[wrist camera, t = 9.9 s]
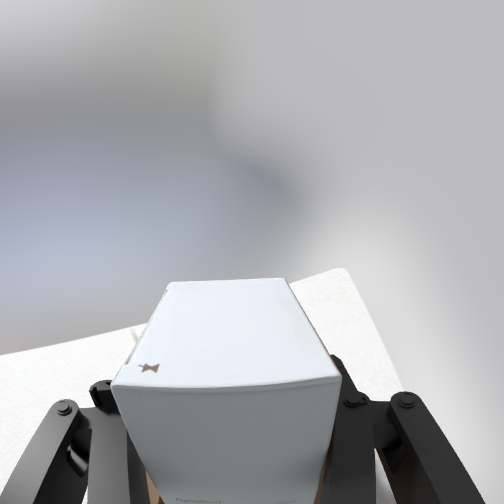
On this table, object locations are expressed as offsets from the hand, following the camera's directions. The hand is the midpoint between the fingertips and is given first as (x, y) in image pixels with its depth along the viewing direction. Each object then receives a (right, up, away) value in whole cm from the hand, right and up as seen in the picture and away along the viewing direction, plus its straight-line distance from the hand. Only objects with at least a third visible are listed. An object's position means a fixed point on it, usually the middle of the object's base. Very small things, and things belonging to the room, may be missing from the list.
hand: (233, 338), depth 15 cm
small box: (0, -8, -4) cm, 9 cm away
